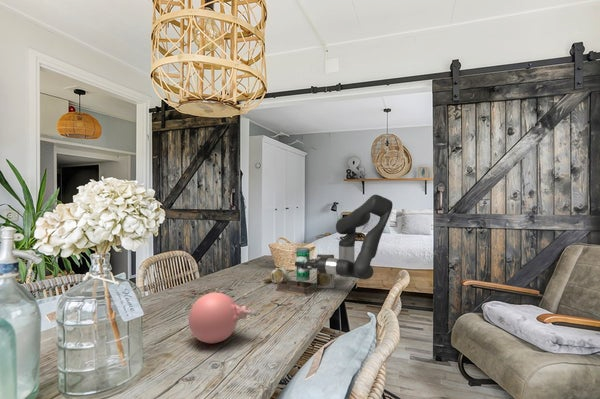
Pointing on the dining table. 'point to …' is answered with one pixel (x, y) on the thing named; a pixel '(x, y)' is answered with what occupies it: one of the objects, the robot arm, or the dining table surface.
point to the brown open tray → (296, 287)
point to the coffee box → (325, 276)
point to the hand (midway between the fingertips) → (298, 262)
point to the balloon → (215, 317)
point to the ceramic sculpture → (277, 275)
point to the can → (304, 256)
